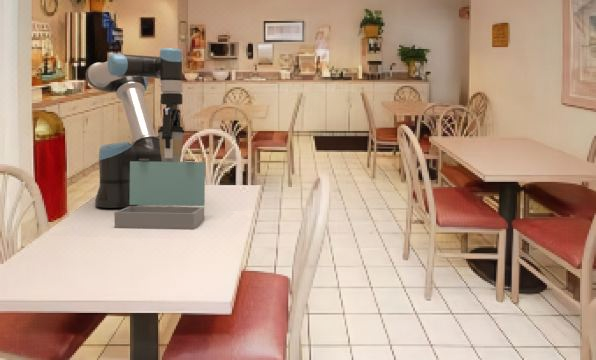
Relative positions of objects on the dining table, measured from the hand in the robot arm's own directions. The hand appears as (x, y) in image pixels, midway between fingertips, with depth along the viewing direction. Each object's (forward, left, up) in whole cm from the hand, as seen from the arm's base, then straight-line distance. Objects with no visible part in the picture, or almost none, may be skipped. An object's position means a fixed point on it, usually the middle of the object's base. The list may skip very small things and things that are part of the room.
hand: (172, 157), depth 219 cm
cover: (+7, -3, -16) cm, 18 cm away
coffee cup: (+1, -1, -4) cm, 5 cm away
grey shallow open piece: (+13, -6, -22) cm, 26 cm away
